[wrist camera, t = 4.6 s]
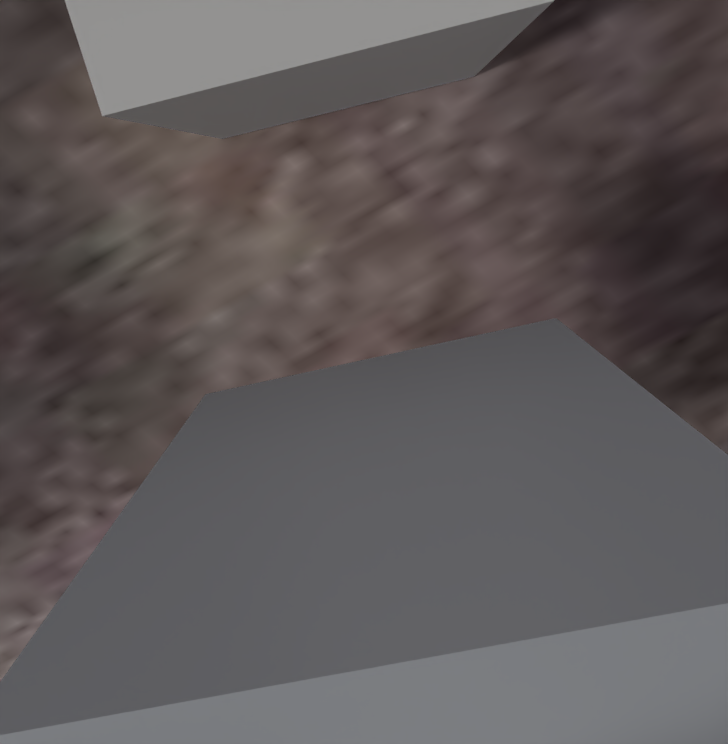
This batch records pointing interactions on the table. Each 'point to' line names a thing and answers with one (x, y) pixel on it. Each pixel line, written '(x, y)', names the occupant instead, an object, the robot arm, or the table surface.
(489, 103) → the table surface
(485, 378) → the grey arch block
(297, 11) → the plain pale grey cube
